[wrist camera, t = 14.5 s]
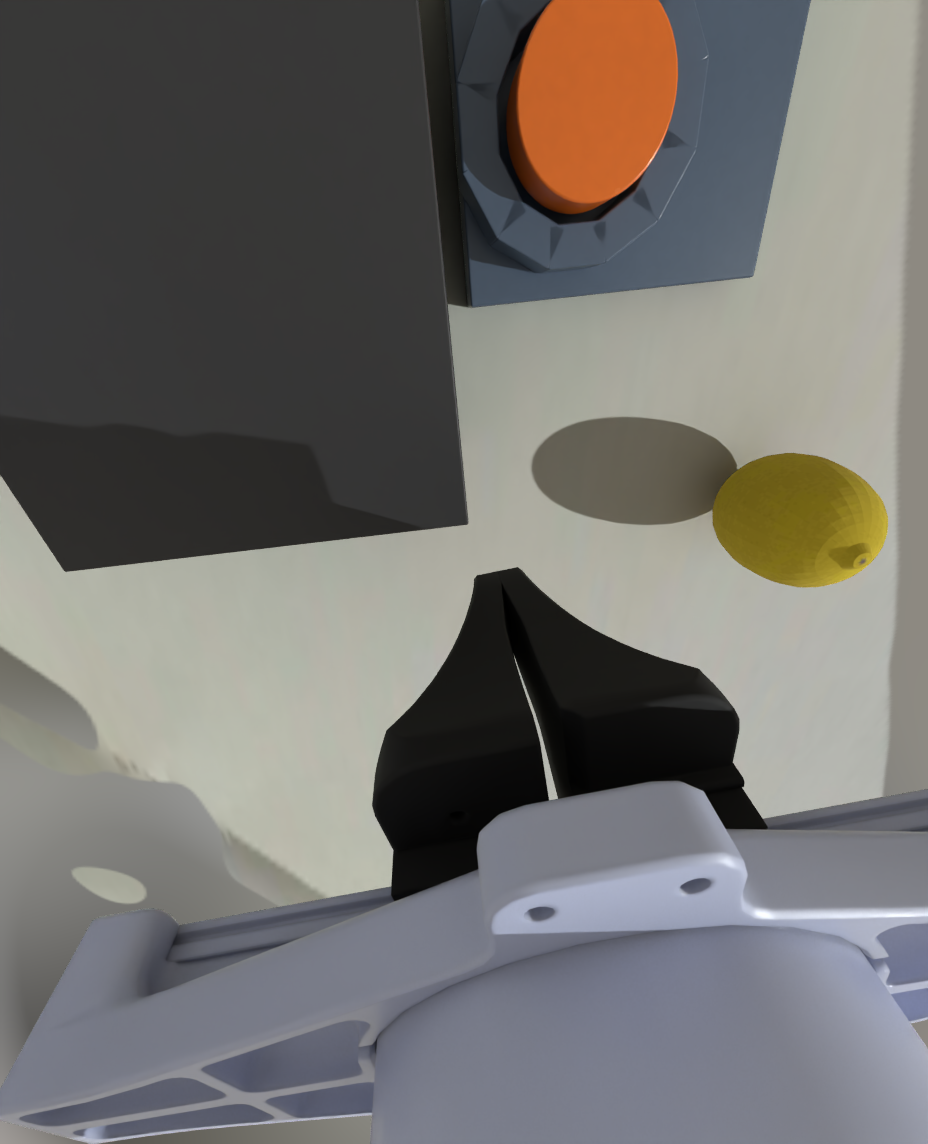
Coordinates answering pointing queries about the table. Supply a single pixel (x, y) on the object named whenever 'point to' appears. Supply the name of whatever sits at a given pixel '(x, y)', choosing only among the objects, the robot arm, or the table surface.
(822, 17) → the table surface
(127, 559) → the charcoal grey box
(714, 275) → the panel
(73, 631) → the table surface
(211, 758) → the table surface
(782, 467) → the lemon
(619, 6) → the button
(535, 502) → the table surface
